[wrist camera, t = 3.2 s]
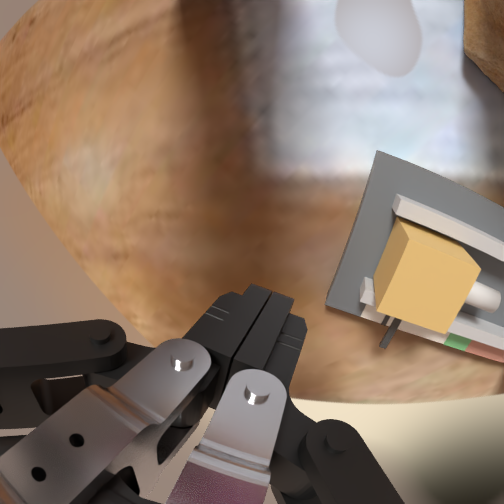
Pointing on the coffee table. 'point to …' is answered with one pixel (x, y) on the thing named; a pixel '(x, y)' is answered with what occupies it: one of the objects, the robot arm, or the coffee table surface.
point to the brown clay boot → (485, 37)
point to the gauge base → (436, 219)
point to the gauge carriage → (427, 280)
